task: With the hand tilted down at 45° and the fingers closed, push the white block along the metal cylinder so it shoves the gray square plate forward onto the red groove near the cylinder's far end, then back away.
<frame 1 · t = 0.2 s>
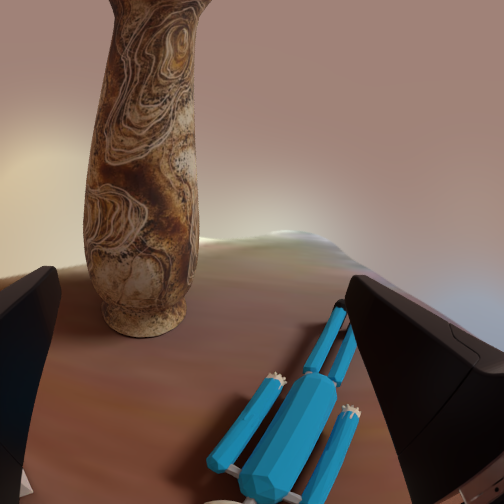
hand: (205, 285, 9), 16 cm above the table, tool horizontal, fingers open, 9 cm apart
toy: (289, 441, 21), on the table
vase: (146, 306, 32), on the table
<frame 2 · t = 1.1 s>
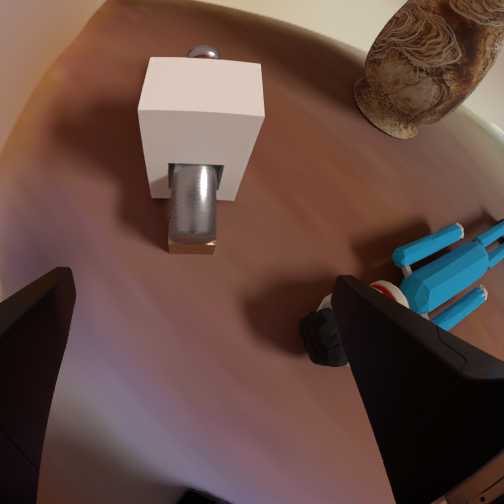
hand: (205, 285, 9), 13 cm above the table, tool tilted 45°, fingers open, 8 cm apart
toy: (434, 279, 27), on the table
white block: (197, 137, 19), point 5 cm above the table, slide at 0.0 cm
vase: (388, 107, 31), on the table
metal cylinder: (194, 154, 24), on the table
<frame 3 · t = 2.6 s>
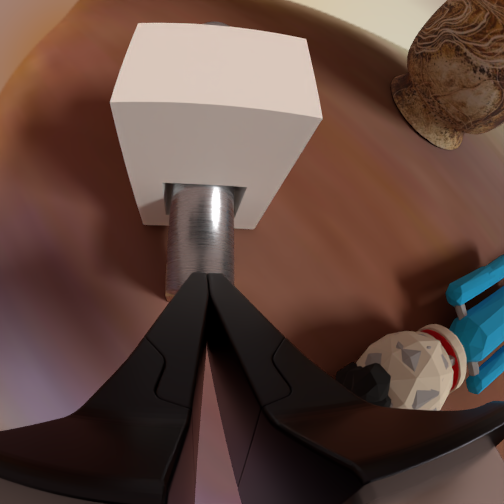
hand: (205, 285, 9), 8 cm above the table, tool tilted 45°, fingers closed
toy: (479, 315, 21), on the table
white block: (206, 143, 13), point 5 cm above the table, slide at 0.0 cm
vase: (429, 111, 25), on the table
metal cylinder: (201, 164, 19), on the table
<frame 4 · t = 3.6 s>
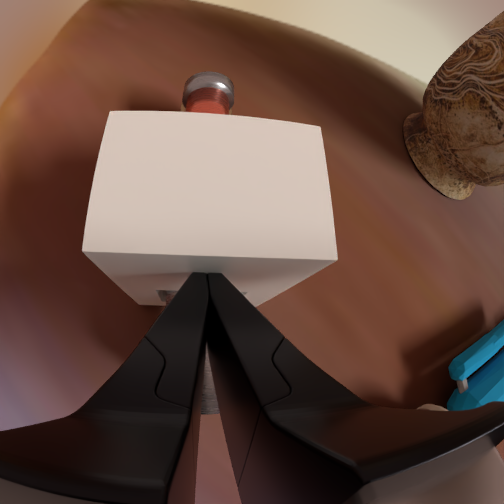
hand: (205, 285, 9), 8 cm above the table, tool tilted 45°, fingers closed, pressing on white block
toy: (481, 374, 20), on the table
white block: (202, 238, 12), point 5 cm above the table, slide at 0.6 cm, touching gripper
vase: (442, 154, 24), on the table
metal cylinder: (197, 243, 18), on the table
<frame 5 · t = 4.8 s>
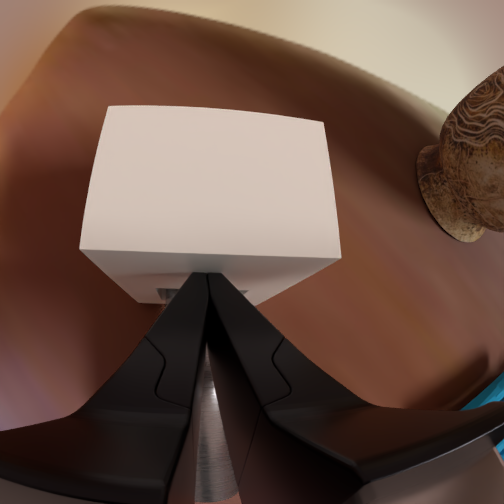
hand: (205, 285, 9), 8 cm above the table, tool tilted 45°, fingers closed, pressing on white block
toy: (480, 417, 18), on the table
white block: (202, 236, 12), point 5 cm above the table, slide at 4.4 cm, touching gripper, gray square plate
vase: (455, 191, 23), on the table
metal cylinder: (196, 313, 16), on the table
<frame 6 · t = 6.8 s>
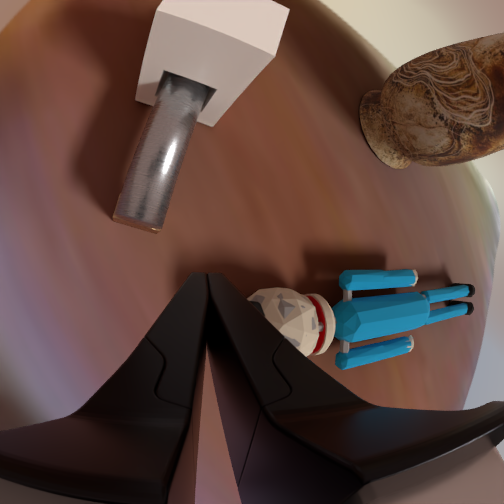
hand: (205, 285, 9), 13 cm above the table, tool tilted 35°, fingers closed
toy: (369, 310, 29), on the table
white block: (200, 55, 17), point 5 cm above the table, slide at 4.4 cm, touching gray square plate
vase: (390, 129, 30), on the table
metal cylinder: (171, 119, 21), on the table
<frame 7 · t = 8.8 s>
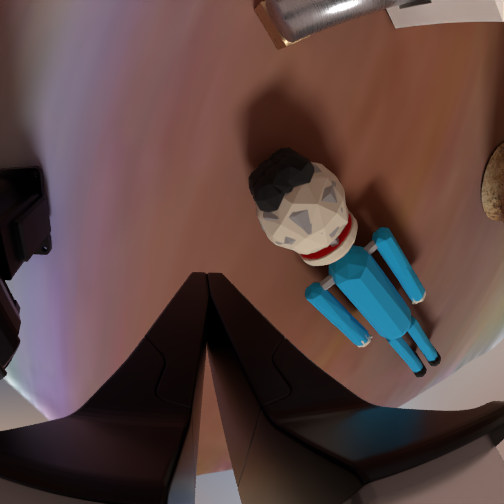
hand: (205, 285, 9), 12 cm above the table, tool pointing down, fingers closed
toy: (365, 283, 27), on the table
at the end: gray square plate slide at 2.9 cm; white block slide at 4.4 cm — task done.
